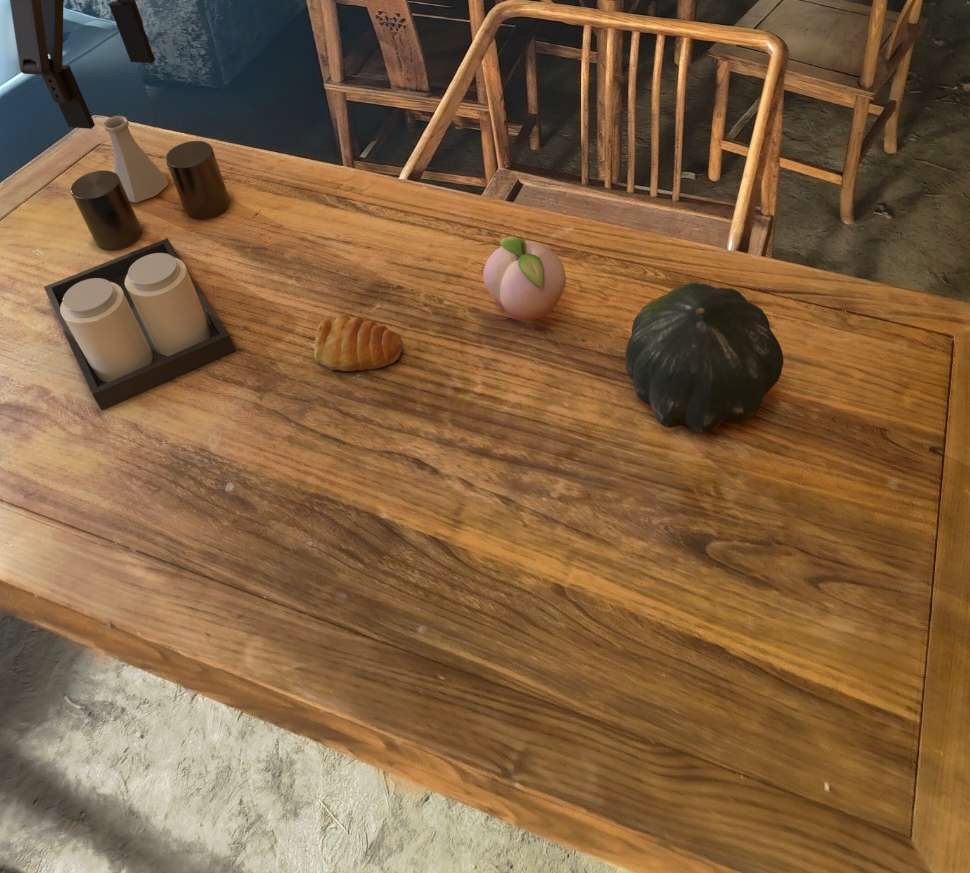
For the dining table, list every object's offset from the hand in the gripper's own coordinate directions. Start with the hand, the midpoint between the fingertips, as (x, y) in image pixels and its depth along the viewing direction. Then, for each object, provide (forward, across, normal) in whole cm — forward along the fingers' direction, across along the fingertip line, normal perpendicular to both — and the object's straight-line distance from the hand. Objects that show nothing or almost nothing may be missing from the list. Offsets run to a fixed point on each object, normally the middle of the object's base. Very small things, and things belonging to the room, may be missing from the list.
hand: (113, 92), depth 101 cm
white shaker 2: (+21, -15, -8) cm, 27 cm away
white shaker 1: (+21, -20, -3) cm, 29 cm away
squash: (+22, -14, -66) cm, 71 cm away
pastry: (+22, -13, -28) cm, 38 cm away
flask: (+22, +13, +12) cm, 28 cm away
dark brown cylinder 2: (+22, +10, +1) cm, 24 cm away
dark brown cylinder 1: (+22, +2, +10) cm, 24 cm away
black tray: (+22, -13, -2) cm, 26 cm away
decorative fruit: (+22, -4, -46) cm, 51 cm away
